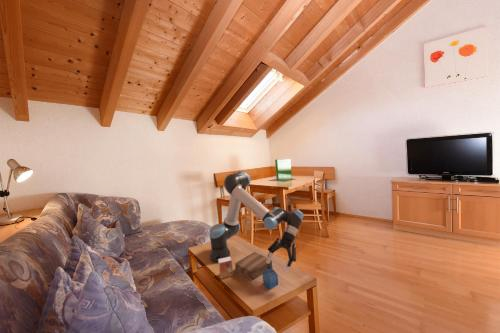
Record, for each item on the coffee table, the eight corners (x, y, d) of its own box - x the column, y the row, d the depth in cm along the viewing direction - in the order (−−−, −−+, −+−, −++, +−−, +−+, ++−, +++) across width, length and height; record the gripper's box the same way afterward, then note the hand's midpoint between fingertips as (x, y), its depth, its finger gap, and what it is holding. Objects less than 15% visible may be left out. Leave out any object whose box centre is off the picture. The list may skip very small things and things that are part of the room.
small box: (220, 279, 138) (218, 263, 137) (219, 274, 143) (217, 258, 142) (233, 275, 140) (231, 260, 139) (231, 271, 145) (229, 256, 144)
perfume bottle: (270, 289, 124) (268, 269, 122) (263, 284, 129) (261, 265, 127) (278, 284, 127) (276, 265, 126) (271, 279, 132) (269, 261, 131)
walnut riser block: (235, 271, 145) (235, 263, 144) (255, 259, 157) (254, 251, 156) (252, 281, 133) (251, 272, 132) (272, 267, 145) (271, 259, 145)
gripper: (309, 241, 130) (296, 277, 122) (277, 231, 148) (264, 262, 140) (303, 236, 126) (289, 273, 117) (271, 226, 144) (257, 257, 136)
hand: (275, 267), depth 129 cm, fingers open, 13 cm apart
